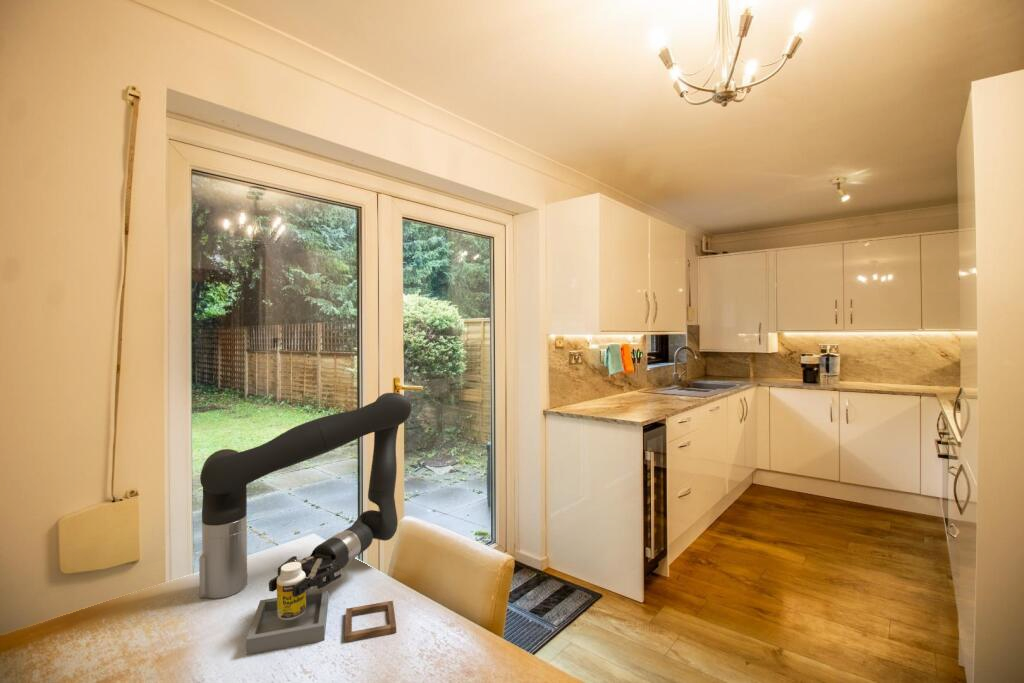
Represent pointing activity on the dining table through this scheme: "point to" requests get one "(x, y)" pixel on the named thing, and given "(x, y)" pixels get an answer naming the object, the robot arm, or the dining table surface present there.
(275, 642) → the tray
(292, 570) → the supplement bottle
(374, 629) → the holder frame
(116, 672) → the dining table surface
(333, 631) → the dining table surface
